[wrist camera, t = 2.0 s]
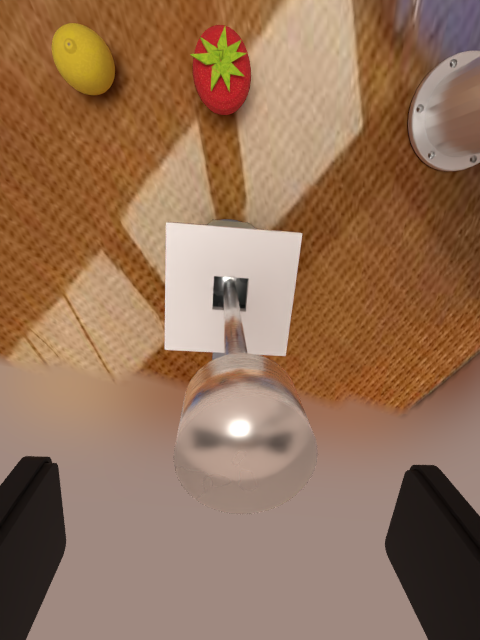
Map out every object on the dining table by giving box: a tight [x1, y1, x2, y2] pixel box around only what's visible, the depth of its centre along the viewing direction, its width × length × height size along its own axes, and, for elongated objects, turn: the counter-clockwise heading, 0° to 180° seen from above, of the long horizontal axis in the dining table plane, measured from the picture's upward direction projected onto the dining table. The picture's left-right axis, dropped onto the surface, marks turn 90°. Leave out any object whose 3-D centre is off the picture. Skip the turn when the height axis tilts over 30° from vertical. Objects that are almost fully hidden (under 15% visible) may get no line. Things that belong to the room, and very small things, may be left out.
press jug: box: [165, 219, 302, 360], centre depth 38 cm, size 14×11×17 cm
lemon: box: [52, 23, 115, 95], centre depth 34 cm, size 6×6×8 cm
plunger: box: [174, 276, 317, 514], centre depth 22 cm, size 8×8×24 cm
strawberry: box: [191, 25, 251, 115], centre depth 34 cm, size 6×8×10 cm
